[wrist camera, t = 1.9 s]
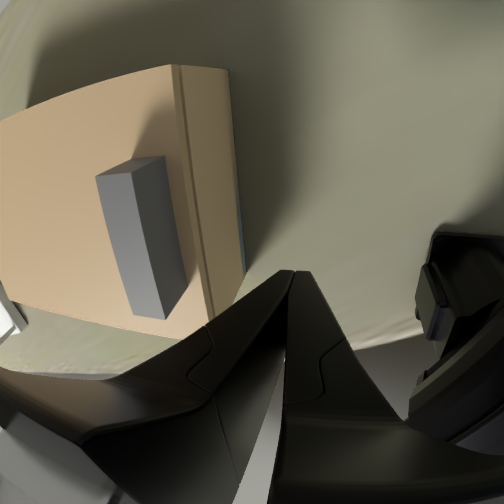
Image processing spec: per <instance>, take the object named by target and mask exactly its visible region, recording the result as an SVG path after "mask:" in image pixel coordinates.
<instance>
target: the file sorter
mask: <svg viewBox="0 0 504 504" xmlns="http://www.w3.org/2000/svg"><path fill="white" fill-rule="evenodd" d="M27 326H28V325H27V323H26V322H25V320H24V319H23V317H22V316H21V314H20V313H19V311H18V310H17V308H16V307H15V305H14V304H13V302H12V301H11V300H9V298H8V296H7V294H6V292H5V289H4V288H3V286H2V284H1V283H0V337H1V338H0V345H1V344H2V343H3V342H4V341H5V340H6V339H7V338H8V337H9V336H10V335H13V334H18V333H21V332H22V331H23V330H24V329H25V328H26V327H27Z"/></svg>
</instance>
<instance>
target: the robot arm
mask: <svg viewBox="0 0 504 504" xmlns="http://www.w3.org/2000/svg"><path fill="white" fill-rule="evenodd" d="M440 238H441V239H442V240H441V242H440V243H436V241H437V240H438V239H440ZM415 301H416V304H417V306H416V309H415V315H416V318H417V319H418V320H421V323H422V327H423V331H424V335H425V338H426V339H427V340H428V341H433V342H434V346H435V350H436V354H437V358H438V362H437V363H436V364H435V365H433V366H432V367H431V368H430V369H429V370H425V371H424V372H423V373H421V374H420V375H419V376H418V380H417V385H416V387H415V388H414V390H413V393H412V395H411V397H410V399H409V412H408V418H406V419H405V420H404V421H403V420H401V418H400V417H399V416H398V415H397V413H396V412H395V411H394V409H393V408H392V407H391V406H390V404H389V403H388V401H387V400H386V398H385V397H384V396H383V394H382V393H381V392H380V390H379V389H378V388H377V386H376V385H375V384H374V382H373V381H372V379H371V378H370V377H369V375H368V374H367V372H366V371H365V369H364V368H363V366H362V365H361V364H360V362H359V360H358V359H357V357H356V355H355V353H354V351H353V350H352V348H351V346H350V344H349V342H348V340H346V337H345V335H344V333H343V331H342V329H341V327H340V325H339V323H338V321H337V320H336V318H335V316H334V314H333V312H332V310H331V308H330V307H329V305H328V303H327V301H326V299H325V297H324V295H323V294H322V292H321V290H320V288H319V286H318V284H317V283H316V281H315V279H314V277H313V275H312V273H311V272H310V271H296V272H295V271H293V270H279V271H278V272H277V273H275V274H274V275H273V276H271V277H270V278H268V279H267V280H266V281H264V282H263V283H262V284H260V285H259V286H258V287H256V288H255V289H253V290H252V291H251V292H249V293H248V294H247V295H245V296H244V297H243V298H241V299H240V300H238V301H237V302H236V303H234V304H233V305H231V306H230V307H229V308H227V309H226V310H225V311H223V312H222V313H220V314H219V315H218V316H216V317H215V318H213V319H212V320H211V321H209V322H208V323H206V324H205V326H202V327H201V328H199V329H198V330H196V331H195V332H194V333H192V334H191V335H189V336H188V337H186V338H184V339H183V340H181V341H180V342H178V343H177V344H175V345H173V346H172V347H170V348H168V349H166V350H165V351H163V352H161V353H160V354H158V355H156V356H154V357H152V358H150V359H149V360H147V361H145V362H143V363H141V364H139V365H138V366H136V367H134V368H132V369H130V370H128V371H126V372H124V373H122V374H120V375H118V376H116V377H113V378H110V379H105V380H79V379H68V378H57V377H48V376H39V375H32V374H25V373H19V372H15V371H10V370H7V369H4V368H2V367H0V426H1V427H2V428H3V430H2V431H1V433H0V504H232V503H233V500H234V498H235V495H236V493H237V490H238V488H239V484H240V483H241V480H242V478H243V475H244V472H245V470H246V467H247V465H248V462H249V459H250V457H251V454H252V451H253V448H254V446H255V443H256V440H257V437H258V435H259V432H260V429H261V427H262V424H263V421H264V418H265V415H266V412H267V409H268V407H269V403H270V401H271V398H272V395H273V392H274V389H275V386H276V383H277V380H278V377H279V374H280V371H281V368H282V365H283V361H284V358H285V371H284V390H283V409H282V420H281V429H280V435H279V441H278V447H277V452H276V458H275V463H274V469H273V474H272V479H271V484H270V489H269V495H268V500H267V504H504V237H502V236H489V235H477V234H463V233H449V232H436V233H434V234H433V235H432V237H431V241H430V247H429V252H428V257H427V262H426V263H425V264H424V265H423V266H422V268H421V272H420V277H419V282H418V286H417V290H416V295H415Z"/></svg>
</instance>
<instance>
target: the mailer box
mask: <svg viewBox="0 0 504 504" xmlns="http://www.w3.org/2000/svg"><path fill="white" fill-rule="evenodd" d="M178 70H179V80H180V90H181V100H182V109H183V118H184V127H185V135H186V143H187V152H188V159H189V167H190V175H191V182H192V189H193V196H194V203H195V210H196V217H197V223H198V230H199V236H200V243H201V249H202V255H203V261H204V267H205V273H206V279H207V285H208V290H209V296H210V302H211V307H212V313H213V318H215V317H216V316H218V315H219V314H220V313H222V312H223V311H225V310H226V309H227V308H229V307H230V306H231V305H232V303H233V301H234V299H235V297H236V295H237V293H238V290H239V288H240V286H241V284H242V282H243V280H244V278H245V275H246V263H245V252H244V242H243V231H242V220H241V210H240V199H239V188H238V177H237V166H236V155H235V144H234V132H233V121H232V110H231V98H230V87H229V75H228V69H220V68H211V67H201V66H191V65H178Z"/></svg>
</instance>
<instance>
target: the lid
mask: <svg viewBox="0 0 504 504" xmlns="http://www.w3.org/2000/svg"><path fill="white" fill-rule="evenodd" d="M0 280H1V283H2V285H3V287H4V289H5V292H6V294H7V296H8V298H9V300H11V301H14V302H17V303H21V304H24V305H28V306H31V307H35V308H38V309H42V310H46V311H50V312H53V313H57V314H61V315H65V316H69V317H73V318H77V319H81V320H85V321H90V322H94V323H98V324H103V325H107V326H112V327H117V328H122V329H126V330H131V331H136V332H142V333H147V334H152V335H158V336H163V337H169V338H175V339H181V340H183V339H184V338H186V337H188V336H189V335H191V334H192V333H194V332H195V331H196V330H198V329H199V328H201V327H202V326H205V324H206V323H208V322H209V321H211V320H212V319H213V313H212V307H211V302H210V296H209V290H208V285H207V279H206V273H205V267H204V261H203V255H202V249H201V243H200V236H199V230H198V223H197V217H196V210H195V203H194V196H193V189H192V182H191V175H190V167H189V159H188V152H187V143H186V135H185V127H184V118H183V109H182V100H181V90H180V80H179V70H178V64H169V65H164V66H159V67H155V68H150V69H146V70H142V71H138V72H134V73H130V74H126V75H122V76H119V77H115V78H112V79H108V80H105V81H101V82H98V83H95V84H92V85H89V86H86V87H83V88H80V89H77V90H74V91H71V92H68V93H65V94H63V95H60V96H57V97H55V98H52V99H49V100H47V101H44V102H42V103H39V104H37V105H35V106H32V107H30V108H27V109H25V110H23V111H21V112H18V113H16V114H14V115H12V116H10V117H8V118H5V119H3V120H1V121H0Z"/></svg>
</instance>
